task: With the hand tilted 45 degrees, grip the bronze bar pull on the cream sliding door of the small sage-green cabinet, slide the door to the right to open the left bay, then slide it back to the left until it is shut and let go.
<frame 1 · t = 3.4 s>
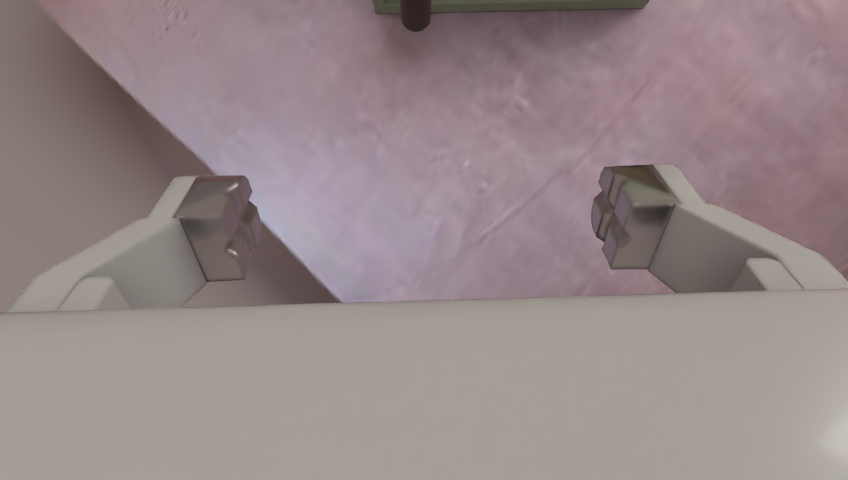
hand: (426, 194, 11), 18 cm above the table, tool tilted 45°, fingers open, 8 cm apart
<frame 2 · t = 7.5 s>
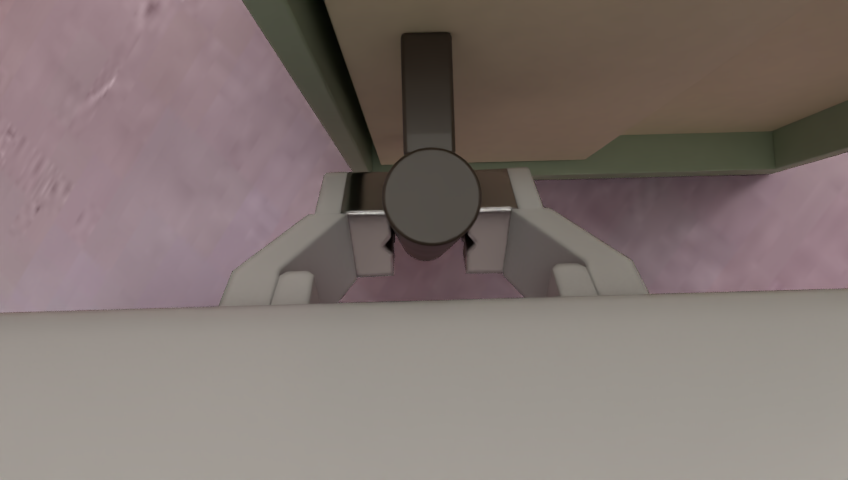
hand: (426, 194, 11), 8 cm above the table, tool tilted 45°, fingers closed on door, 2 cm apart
cabinet: (561, 61, 20), on the table
door: (522, 163, 12), point 8 cm above the table, slide at 0.0 cm, touching gripper
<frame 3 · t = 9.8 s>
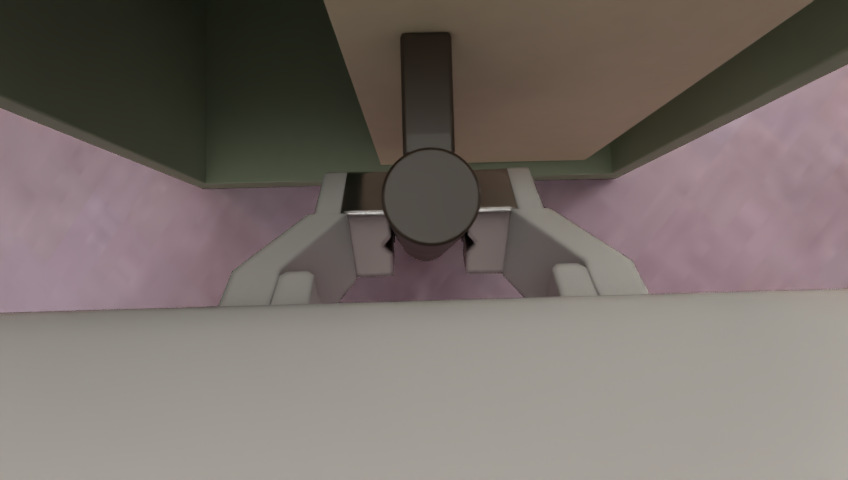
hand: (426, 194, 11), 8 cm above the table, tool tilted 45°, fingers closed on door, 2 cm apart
cabinet: (407, 65, 20), on the table
door: (522, 163, 12), point 8 cm above the table, slide at 6.5 cm, touching gripper
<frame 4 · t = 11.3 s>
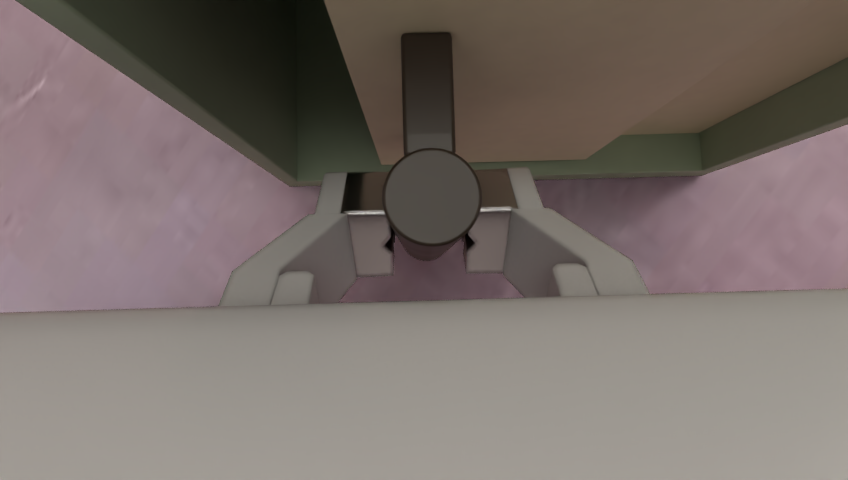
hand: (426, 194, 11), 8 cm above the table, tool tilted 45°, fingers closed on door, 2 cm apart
cabinet: (491, 63, 20), on the table
door: (522, 163, 12), point 8 cm above the table, slide at 3.0 cm, touching gripper
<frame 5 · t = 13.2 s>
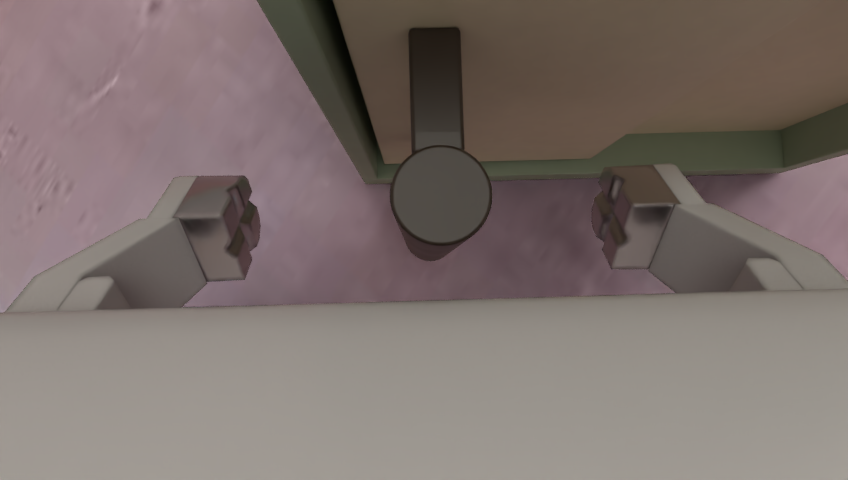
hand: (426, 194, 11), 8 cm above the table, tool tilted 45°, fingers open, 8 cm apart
cabinet: (567, 60, 20), on the table
door: (529, 161, 12), point 8 cm above the table, slide at 0.0 cm
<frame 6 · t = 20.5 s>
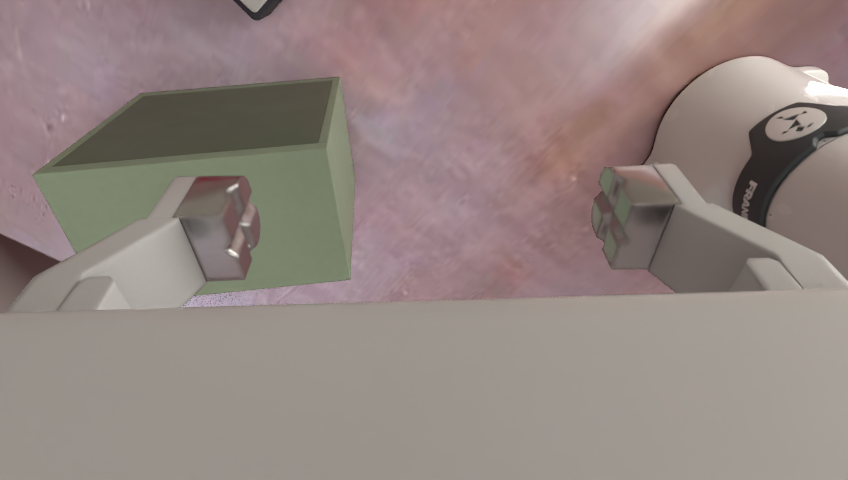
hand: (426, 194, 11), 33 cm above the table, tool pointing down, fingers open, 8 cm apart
cabinet: (255, 139, 44), on the table
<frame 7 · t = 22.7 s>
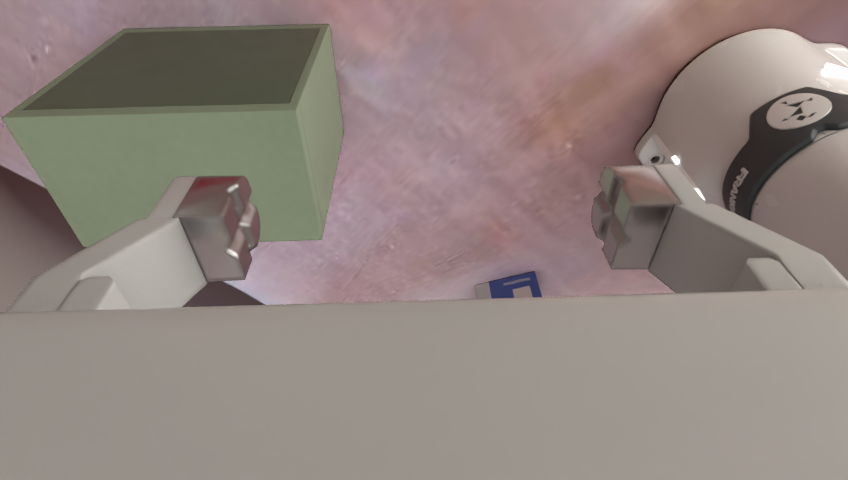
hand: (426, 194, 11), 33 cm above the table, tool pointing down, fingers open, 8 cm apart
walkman: (505, 284, 61), on the table
cabinet: (242, 84, 43), on the table
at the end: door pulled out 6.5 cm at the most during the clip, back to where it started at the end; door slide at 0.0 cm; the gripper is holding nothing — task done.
